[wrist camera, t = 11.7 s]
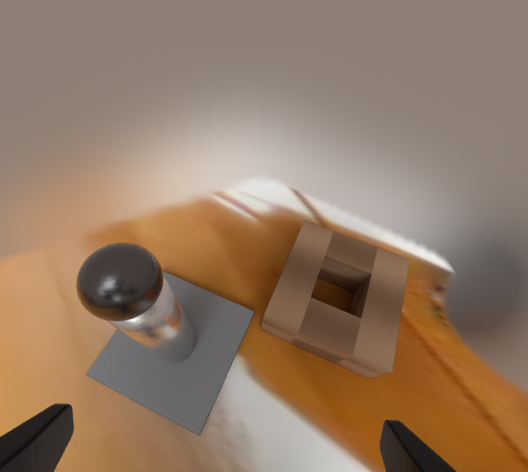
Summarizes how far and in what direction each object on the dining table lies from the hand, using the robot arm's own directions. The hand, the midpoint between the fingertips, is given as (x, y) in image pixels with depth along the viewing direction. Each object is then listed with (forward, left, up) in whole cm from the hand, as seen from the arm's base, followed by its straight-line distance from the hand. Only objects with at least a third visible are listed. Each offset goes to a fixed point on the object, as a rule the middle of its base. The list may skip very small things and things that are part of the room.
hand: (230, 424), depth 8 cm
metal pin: (+3, +6, -13) cm, 15 cm away
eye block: (+11, -4, -14) cm, 18 cm away
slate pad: (+3, +6, -14) cm, 15 cm away
